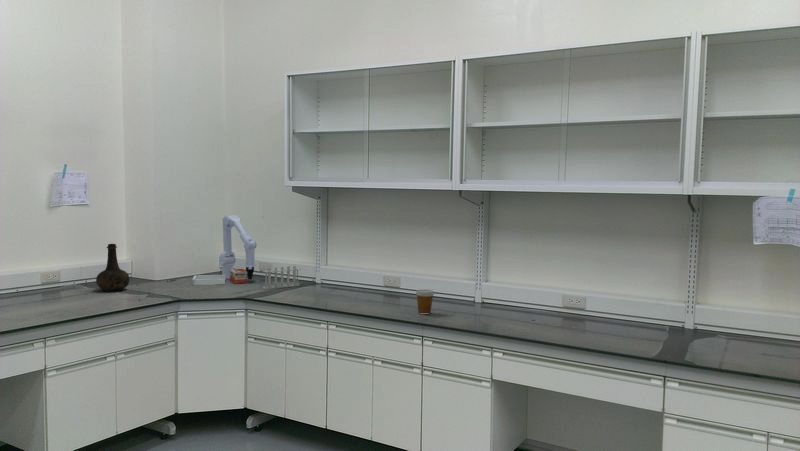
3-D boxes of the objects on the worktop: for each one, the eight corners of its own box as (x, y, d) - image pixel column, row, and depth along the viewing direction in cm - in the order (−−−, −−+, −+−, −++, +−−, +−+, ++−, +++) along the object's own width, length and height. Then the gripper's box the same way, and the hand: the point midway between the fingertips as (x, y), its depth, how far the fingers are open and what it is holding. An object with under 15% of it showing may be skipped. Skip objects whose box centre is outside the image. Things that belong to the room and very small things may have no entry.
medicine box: (229, 280, 395) (229, 268, 395) (241, 279, 399) (241, 268, 398) (234, 284, 382) (234, 272, 381) (246, 283, 386) (246, 271, 385)
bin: (194, 280, 392) (194, 275, 391) (225, 280, 397) (225, 274, 397) (192, 285, 374) (192, 279, 374) (224, 284, 379) (224, 279, 379)
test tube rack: (297, 284, 385) (297, 265, 385) (300, 285, 382) (301, 265, 381) (262, 288, 370) (262, 267, 369) (265, 289, 366) (265, 268, 366)
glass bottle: (135, 288, 358) (135, 243, 356) (118, 293, 340) (118, 245, 338) (107, 287, 360) (107, 241, 358) (89, 292, 342) (89, 244, 340)
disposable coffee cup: (430, 316, 301) (430, 293, 300) (412, 314, 304) (413, 291, 304) (435, 312, 310) (436, 290, 309) (418, 310, 313) (419, 288, 312)
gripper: (256, 259, 385) (256, 280, 386) (255, 257, 399) (255, 276, 400) (245, 259, 383) (245, 280, 384) (245, 257, 397) (245, 276, 398)
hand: (249, 278), depth 392 cm, fingers open, 7 cm apart
